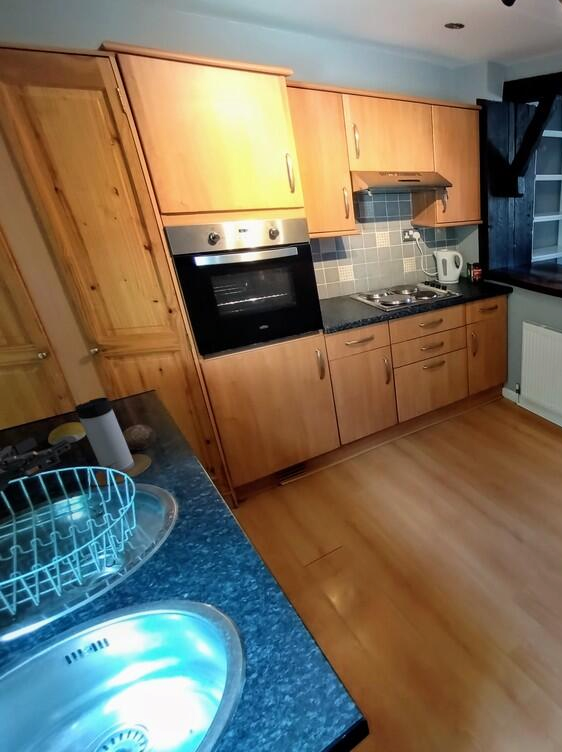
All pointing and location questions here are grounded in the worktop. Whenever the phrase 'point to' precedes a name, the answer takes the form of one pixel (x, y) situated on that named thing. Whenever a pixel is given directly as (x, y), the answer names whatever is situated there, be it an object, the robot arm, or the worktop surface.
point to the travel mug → (105, 434)
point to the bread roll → (67, 433)
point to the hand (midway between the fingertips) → (51, 442)
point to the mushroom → (139, 437)
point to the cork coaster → (139, 466)
